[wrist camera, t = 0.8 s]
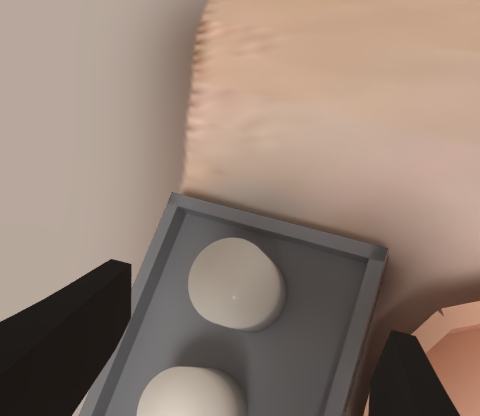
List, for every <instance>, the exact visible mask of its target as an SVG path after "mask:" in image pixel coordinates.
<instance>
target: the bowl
mask: <svg viewBox="0 0 480 416" xmlns="http://www.w3.org/2000/svg"><path fill="white" fill-rule="evenodd" d="M411 335H414V336H416V337H417V339H418V340H419V342H420V344H421V346H422V348H423V350H424V352H425V354H426V355H427V357H428V359H429V361H430V363H431V365H432V367H433V369H434V370H435V372H436V374H437V376H438V378H439V380H440V381H441V383H442V385H443V387H444V389H445V390H446V392H447V394H448V396H449V397H450V399H451V401H452V402H453V404H454V406H455V407H456V409H457V411H458V412H459V414H460V416H480V301H476V302H471V303H466V304H461V305H456V306H451V307H446V308H441V310H440V311H439V312H438V311H436V312H435V313H434V314H433V315H432V316H431V317H430V318H428V319H427V320H426V321H425V322H424V323H423V324H422V325H421V326H420V327H419V328H418V329H416V330H415V331H414V332H413V333H412V334H411ZM368 413H369V396H368V400H367V404H366V407H365V411H364V415H363V416H368Z"/></svg>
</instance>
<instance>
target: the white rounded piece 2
mask: <svg viewBox="0 0 480 416" xmlns="http://www.w3.org/2000/svg"><path fill="white" fill-rule="evenodd" d="M137 416H248V409H247V402H246V398H245V395H244V392H243V390H242V388H241V387H240V385H239V383H238V382H237V381H236V380H235V379H234V378H233V377H232V376H231V375H229V374H228V373H226V372H224V371H222V370H219V369H214V368H199V367H180V366H179V367H173V368H169V369H167V370H164V371H162V372H161V373H159V374H158V375H157V376H155V377H154V378H153V379H152V380H151V381H150V382H149V384H148V385H147V386H146V388H145V390H144V391H143V393H142V396H141V398H140V401H139V404H138V409H137Z"/></svg>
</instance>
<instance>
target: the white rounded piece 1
mask: <svg viewBox="0 0 480 416" xmlns="http://www.w3.org/2000/svg"><path fill="white" fill-rule="evenodd" d="M188 291H189V296H190V299H191V302H192V304H193V306H194V307H195V309H196V310H197V311H198V313H199V314H200V315H201V316H202V317H204V318H205V319H207V320H208V321H210V322H213V323H216V324H219V325H222V326H225V327H228V328H231V329H235V330H238V331H241V332H247V333H252V332H258V331H262V330H264V329H266V328H268V327H269V326H271V325H272V324H273V323H275V322H276V321H277V320H278V318H279V317H280V316H281V314H282V312H283V311H284V308H285V306H286V302H287V297H288V288H287V283H286V279H285V277H284V275H283V273H282V271H281V270H280V269H279V268H278V267H277V266H276V265H275V264H274V263H273V262H272V261H271V260H270V259H269V258H268V257H267V256H266V255H265V254H264V253H263V252H262V251H261V250H260V249H259V248H258V247H257V246H256V245H254V244H253V243H251V242H249V241H247V240H244V239H241V238H225V239H221V240H218V241H215V242H213V243H212V244H210V245H208V246H207V247H206V248H205V249H203V250H202V251H201V252H200V254H199V255H198V256H197V257H196V259H195V261H194V262H193V265H192V267H191V270H190V273H189V278H188Z"/></svg>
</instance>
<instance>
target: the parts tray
mask: <svg viewBox="0 0 480 416" xmlns="http://www.w3.org/2000/svg"><path fill="white" fill-rule="evenodd" d="M225 238H241V239H244V240H247V241H249V242H251V243H253V244H254V245H256V246H257V247H258V248H259V249H260V250H261V251H262V252H263V253H264V254H265V255H266V256H267V257H268V258H269V259H270V260H271V261H272V262H273V263H274V264H275V265H276V266H277V267H278V268H279V269H280V270H281V271H282V273H283V275H284V277H285V279H286V283H287V288H288V297H287V302H286V306H285V308H284V311H283V312H282V314H281V316H280V317H279V318H278V320H277V321H276V322H275V323H273V324H272V325H271V326H269V327H268V328H266V329H264V330H262V331H258V332H252V333H247V332H241V331H238V330H235V329H231V328H228V327H225V326H222V325H219V324H216V323H213V322H210V321H208V320H207V319H205V318H204V317H202V316H201V315H200V314H199V313H198V311H197V310H196V309H195V307H194V306H193V304H192V302H191V299H190V296H189V291H188V278H189V273H190V270H191V267H192V265H193V262H194V261H195V259H196V257H197V256H198V255H199V254H200V252H201V251H202V250H203V249H205V248H206V247H207V246H208V245H210V244H212V243H213V242H215V241H218V240H221V239H225ZM387 261H388V248H385V247H381V246H377V245H373V244H369V243H366V242H362V241H358V240H354V239H350V238H346V237H343V236H339V235H335V234H331V233H327V232H323V231H319V230H316V229H312V228H308V227H304V226H300V225H296V224H293V223H289V222H285V221H281V220H277V219H273V218H269V217H266V216H262V215H258V214H254V213H250V212H246V211H243V210H239V209H235V208H231V207H227V206H223V205H219V204H216V203H212V202H208V201H204V200H200V199H196V198H193V197H189V196H185V195H181V194H177V193H173V192H172V194H171V196H170V198H169V201H168V204H167V206H166V208H165V210H164V213H163V215H162V218H161V220H160V222H159V225H158V228H157V230H156V232H155V234H154V237H153V239H152V242H151V244H150V246H149V249H148V251H147V254H146V256H145V258H144V261H143V263H142V265H141V268H140V270H139V273H138V275H137V278H136V280H135V282H134V285H133V287H132V289H131V320H130V322H129V324H128V326H127V328H126V330H125V332H124V334H123V336H122V338H121V340H120V342H119V344H118V346H117V348H116V350H115V351H114V353H113V354H112V356H111V357H110V359H109V360H108V362H107V364H106V365H105V367H104V368H103V370H102V371H101V373H100V374H99V376H98V377H97V379H96V380H95V382H94V383H93V385H92V386H91V388H90V390H89V392H88V395H87V397H86V400H85V402H84V404H83V407H82V409H81V411H80V414H79V416H137V409H138V404H139V401H140V398H141V396H142V393H143V391H144V390H145V388H146V386H147V385H148V384H149V382H150V381H151V380H152V379H153V378H154V377H155V376H157V375H158V374H159V373H161V372H162V371H164V370H167V369H169V368H173V367H179V366H180V367H199V368H214V369H219V370H222V371H224V372H226V373H228V374H229V375H231V376H232V377H233V378H234V379H235V380H236V381H237V382H238V383H239V385H240V387H241V388H242V390H243V392H244V395H245V398H246V402H247V409H248V416H345V412H346V408H347V405H348V401H349V398H350V394H351V390H352V387H353V383H354V380H355V376H356V372H357V369H358V365H359V362H360V358H361V354H362V351H363V347H364V344H365V340H366V337H367V333H368V329H369V326H370V322H371V319H372V315H373V311H374V308H375V304H376V301H377V297H378V293H379V290H380V286H381V283H382V279H383V275H384V272H385V268H386V265H387Z"/></svg>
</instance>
